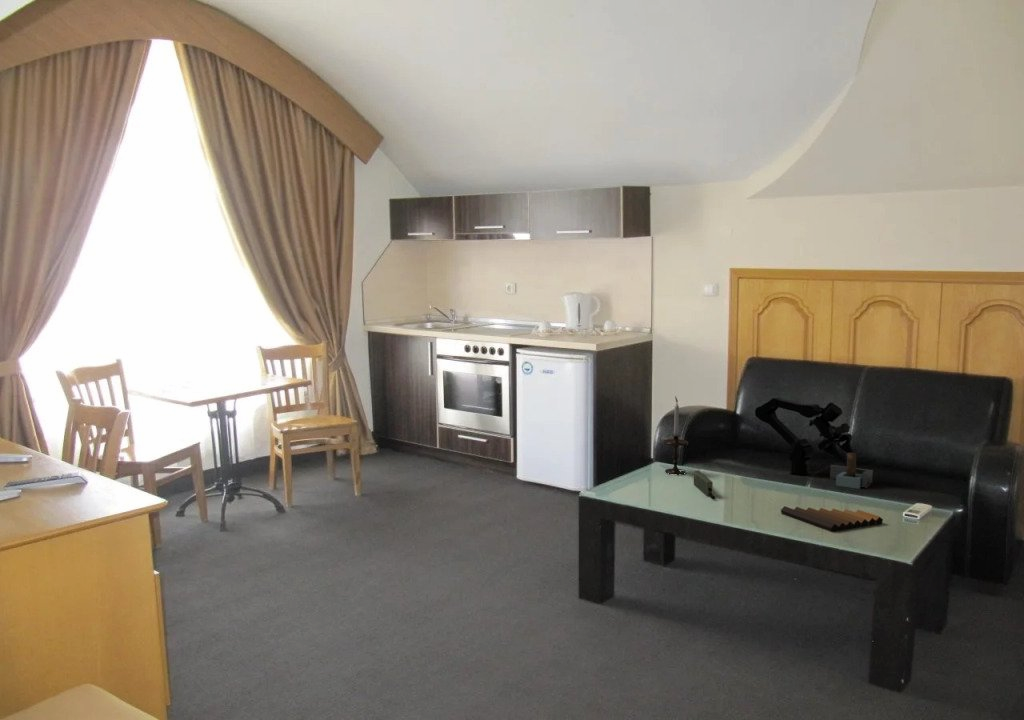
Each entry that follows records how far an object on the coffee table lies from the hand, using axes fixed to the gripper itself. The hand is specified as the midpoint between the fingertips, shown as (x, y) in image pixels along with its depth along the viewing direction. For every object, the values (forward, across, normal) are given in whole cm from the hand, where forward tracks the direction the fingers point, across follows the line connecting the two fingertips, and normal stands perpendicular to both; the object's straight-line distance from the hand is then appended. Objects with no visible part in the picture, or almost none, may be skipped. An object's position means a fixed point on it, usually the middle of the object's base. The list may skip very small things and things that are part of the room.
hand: (847, 457), depth 370 cm
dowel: (+9, 0, +6) cm, 11 cm away
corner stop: (+8, +2, +8) cm, 12 cm away
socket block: (+10, 0, +7) cm, 12 cm away
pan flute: (+26, -54, -9) cm, 60 cm away
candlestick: (-33, -42, +50) cm, 73 cm away
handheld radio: (-11, -60, +28) cm, 67 cm away
